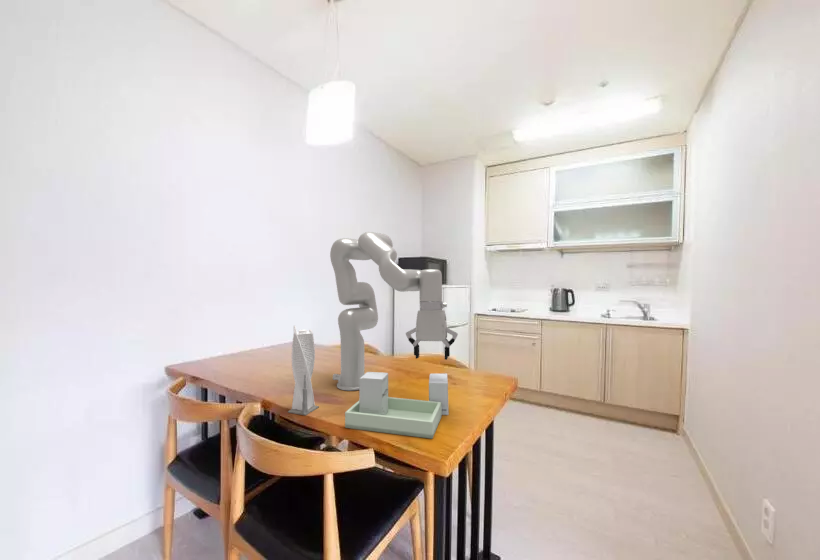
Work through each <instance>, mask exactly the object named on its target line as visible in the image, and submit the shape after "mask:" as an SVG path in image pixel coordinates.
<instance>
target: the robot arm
mask: <svg viewBox="0 0 820 560" xmlns="http://www.w3.org/2000/svg"><path fill="white" fill-rule="evenodd" d="M393 244H394V243H393V241H392V239H391V237H390V236H389V235H387V234H385V233H380V232H379V233H378V232H373V231H366V232H363V233H362V234H360V235H359V236H358V238H356V239H355V238H349V237H347V238H345V237H343V238H338V239H337V240H335V241H334V242H333V243H332V245H331V247H330V253H329V254H330V255H329V257H330V263H331V265H332V268H333V271H334V276H335V285H336V290H337V291H336V292H337V297H338V301H339V302H340V303H341V304H342V305H343V306H356V305H358V306H359V307H349V308H345V309H343V310H342V311H341V312H340V313H339V315H338V318H337V324H338V330H339V337H340V374H338V373H333V374H332V380H333V381H337V383H336V387H337V389H339V390H343V391H347V392H348V391H349V392H350V391H359V379H360V378H361V377H362V376H363V375H364V374H365V339H364V337H363V335H362V333H361V331H365V330H370V329H374V328H375V327H376V326H377V325H378V321H379V312H378V308H377V301H376V296H375V291H374V289H373V287H372V285H371V284H369V283H368V282H364V281H358V278H357V272H356V270H355V268H354V266H353V264H352V263H351V262H350V260H353V261H369V260H370V261H372V262H374V263H375V264H376V265H377V266H378V272H379V275H380V277H381V279H382V280H383V281H384V282H385V283H386V284H387V285H388V286H389V287H391V288H392V289H393V290H395V291H398V292H403V293H404V292H405V293H406V292H419V310H418V311H417V313H416V321H415V322H416V323H415V328H412V329H410V330H408V331H406V332H405V336H406V337H407V340H408V341H409V343H410V344H411V345H412V346H413V355H414V356H415V359H416V360H417V359H419V357H420V345H419V343H420V342H442V343H443V344H444V360H447V361H448V358H449V357H450V355H451V353H450V347H451V346H452V345H453V344H454V342H455V341H456V339H457V337H458V335H459V334H458V332H456V331H454V330H452V329H450V328H448V323H447V316H446V315H447V314H446V310H444V309H443V308H447V307H448V304H447V303H446V302H443V276H442V271H441V270H440V269H437V268H436V269H434V268H433V269H432V268H431V269H430V268H429V269H428V268H427V269H422V270H421V269H411V268H409V269H408V268H407V269H406V268H405V269H403V268H401V266H399V265H397V263H396V260H397V257H398V253H397V251H396V249H395V248H393V246H394V245H393ZM412 334H415V339H416V340H415V339H414V337H413V336H412ZM448 334H449V335H451V336H452V337H451V338H450V340H449V339H447V338H448Z"/></svg>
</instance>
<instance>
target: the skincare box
mask: <svg viewBox="0 0 820 560" xmlns="http://www.w3.org/2000/svg"><path fill="white" fill-rule="evenodd" d="M428 379H429V380H428V401H434V402H442V416H449V415H450V414H449V381H448V373H429V377H428Z"/></svg>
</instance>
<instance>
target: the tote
mask: <svg viewBox="0 0 820 560" xmlns="http://www.w3.org/2000/svg"><path fill="white" fill-rule="evenodd" d="M442 416H443V415H442V402H434V401H429V400H421V399H414V398H413V399H412V398H402V397H401V398H400V397H393V396H388V412H387V413H386V415H377V414H369V413H360V412H359V400H358V401H356V402H355V403H354V404H353V405H352V406H350V407H349V409H347V410H346V411H345V412H344V428H345V429H352V430H353V429H354V430H360V431H368V432H369V431H370V432H375V433H377V432H378V433H385V434H393V435H399V436H406V437H407V436H408V437H416V438H424V439H430V440H431V439H434V436H435V433H436V431H437V429H438V426H439V425H440V421H441V419H442Z"/></svg>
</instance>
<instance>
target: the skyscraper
mask: <svg viewBox="0 0 820 560" xmlns="http://www.w3.org/2000/svg"><path fill="white" fill-rule="evenodd" d="M291 343H292V344H291V368H292V370H291V371H292V375H293V379H294V387H293V388H294V390H293V397H292V404H291V409H290V410H288V411H287V413H289V414H295V415H300V416H308V415H309V414H311V413H312V412H314V411H315V410H317V409H318V408H319V407H320V406H319V405H316V404H315V403H316V402H315V398H314V391H313V384H312V376H313V373H314V366H315V359H316V349H315V339H314V332H313V330H312V329H309V330H308V329H299V330H297V326H296V325H293V336H292V342H291ZM310 412H311V413H310Z"/></svg>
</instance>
